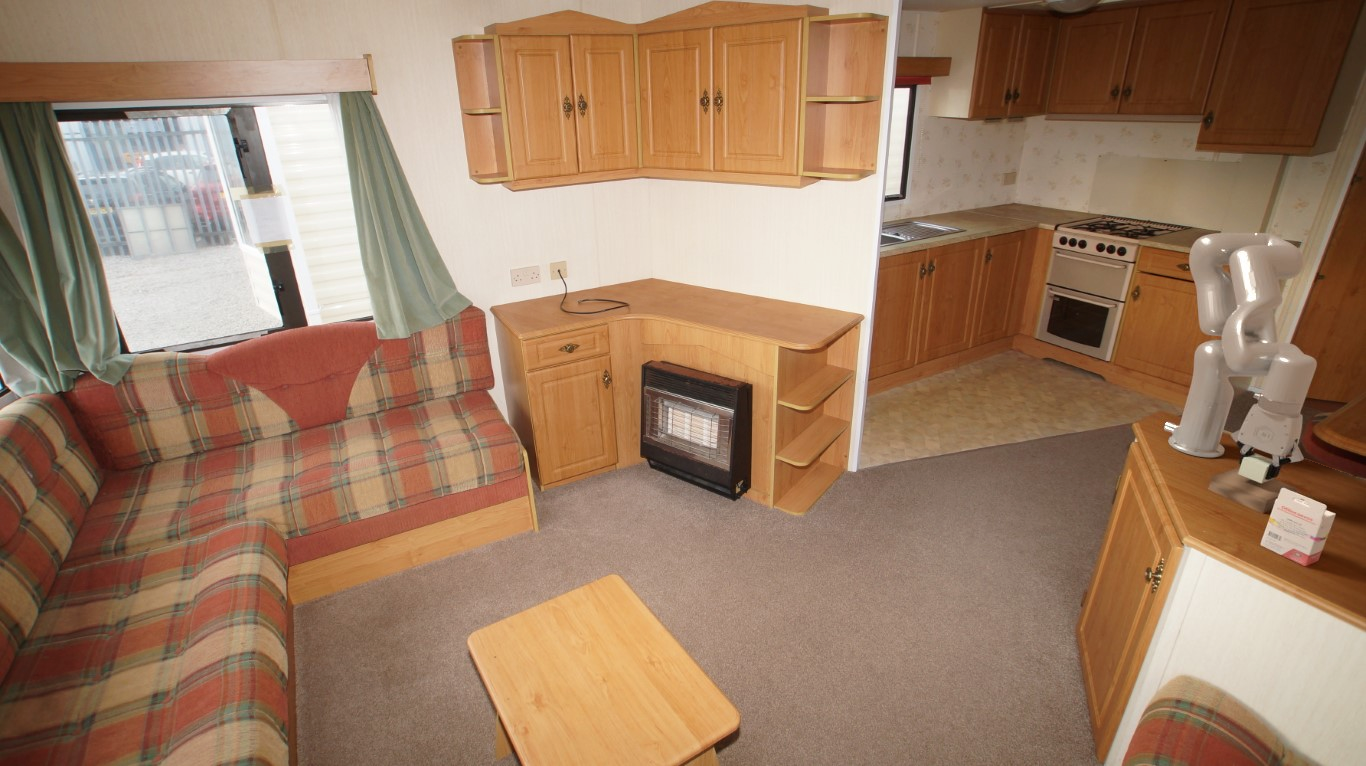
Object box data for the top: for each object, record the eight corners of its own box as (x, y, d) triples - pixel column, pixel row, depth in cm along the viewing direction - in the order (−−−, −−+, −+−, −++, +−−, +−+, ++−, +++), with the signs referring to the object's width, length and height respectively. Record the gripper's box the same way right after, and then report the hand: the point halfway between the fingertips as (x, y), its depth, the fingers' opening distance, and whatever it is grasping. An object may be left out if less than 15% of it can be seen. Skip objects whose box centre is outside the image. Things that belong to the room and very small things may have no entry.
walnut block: (1207, 490, 166) (1211, 476, 164) (1237, 479, 170) (1241, 466, 169) (1262, 514, 156) (1267, 500, 154) (1292, 502, 160) (1297, 488, 158)
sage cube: (1237, 473, 162) (1243, 457, 160) (1250, 469, 164) (1255, 453, 162) (1261, 483, 158) (1267, 466, 156) (1273, 478, 160) (1279, 462, 158)
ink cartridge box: (1319, 561, 139) (1343, 501, 133) (1304, 567, 137) (1328, 507, 132) (1272, 539, 146) (1293, 481, 141) (1258, 544, 145) (1279, 486, 139)
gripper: (1229, 395, 160) (1209, 461, 166) (1315, 422, 145) (1289, 493, 152) (1248, 389, 162) (1227, 455, 169) (1334, 415, 148) (1307, 485, 155)
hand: (1257, 472), depth 160 cm, fingers closed on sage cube, 4 cm apart
